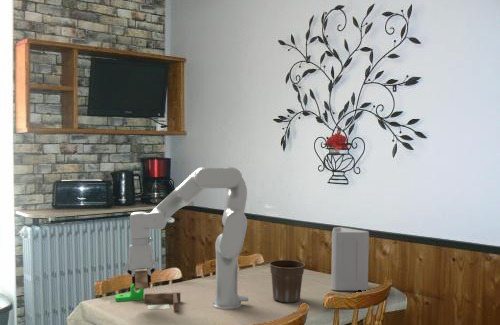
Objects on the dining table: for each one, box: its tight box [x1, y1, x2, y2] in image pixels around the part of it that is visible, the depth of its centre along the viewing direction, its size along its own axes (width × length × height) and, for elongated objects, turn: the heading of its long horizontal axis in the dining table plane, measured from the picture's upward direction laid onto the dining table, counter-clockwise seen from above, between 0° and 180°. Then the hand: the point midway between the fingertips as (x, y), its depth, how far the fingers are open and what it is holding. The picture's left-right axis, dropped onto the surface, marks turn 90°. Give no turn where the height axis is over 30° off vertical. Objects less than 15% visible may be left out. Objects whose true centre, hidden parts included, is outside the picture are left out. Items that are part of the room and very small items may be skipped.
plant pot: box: [268, 259, 306, 304], centre depth 245 cm, size 16×16×16 cm
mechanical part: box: [114, 284, 145, 302], centre depth 242 cm, size 12×6×8 cm, turn 111°
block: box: [134, 269, 149, 290], centre depth 228 cm, size 5×8×6 cm, turn 10°
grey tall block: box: [330, 226, 370, 291], centre depth 267 cm, size 19×15×28 cm
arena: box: [143, 291, 181, 313], centre depth 231 cm, size 16×16×4 cm
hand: (141, 284), depth 228 cm, fingers closed on block, 5 cm apart
